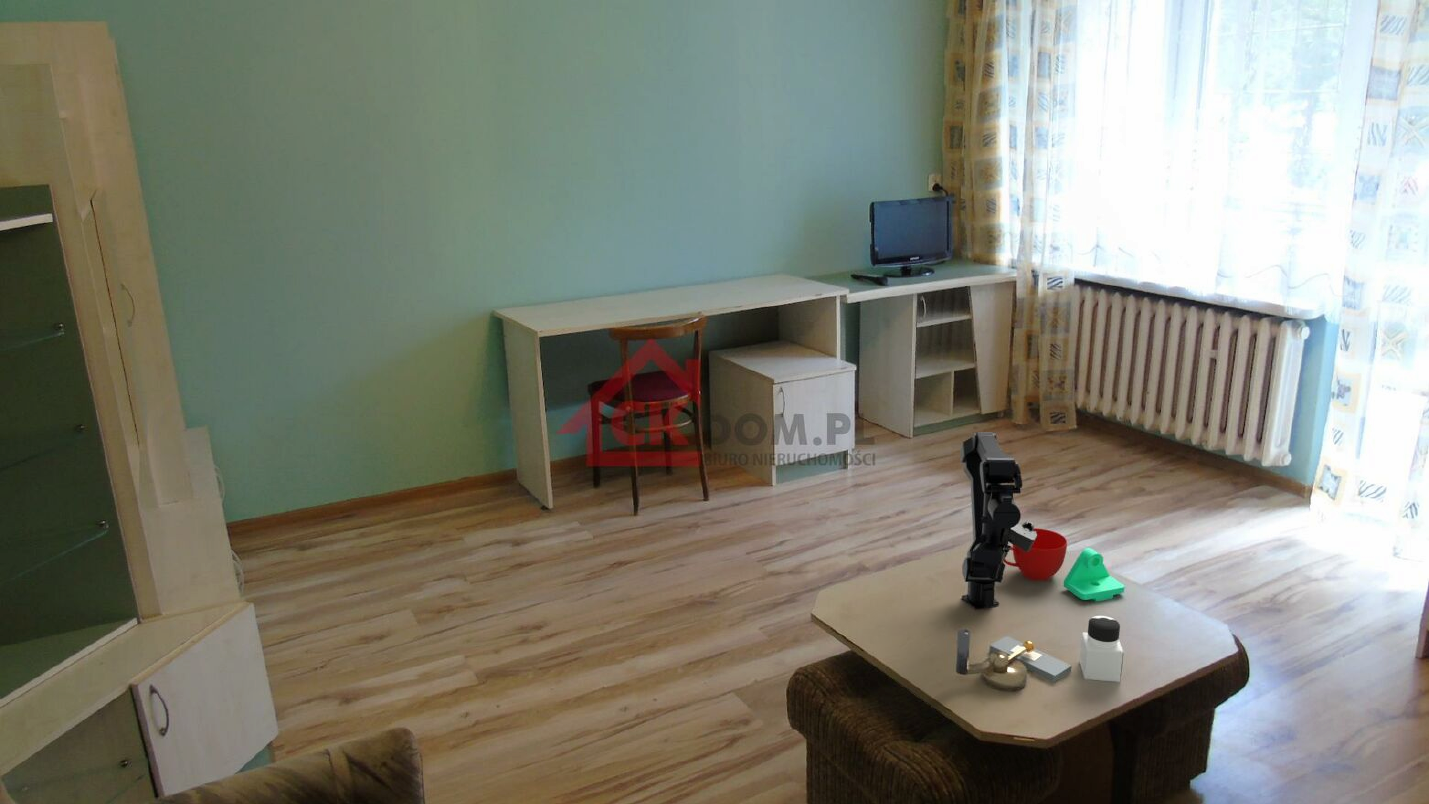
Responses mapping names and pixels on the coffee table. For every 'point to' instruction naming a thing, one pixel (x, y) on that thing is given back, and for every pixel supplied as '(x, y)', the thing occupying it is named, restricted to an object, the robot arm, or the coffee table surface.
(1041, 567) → the ceramic cup
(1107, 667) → the medicine bottle
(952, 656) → the coffee table surface
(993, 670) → the crank handle
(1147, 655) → the coffee table surface
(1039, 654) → the plate
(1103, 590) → the camera mount
